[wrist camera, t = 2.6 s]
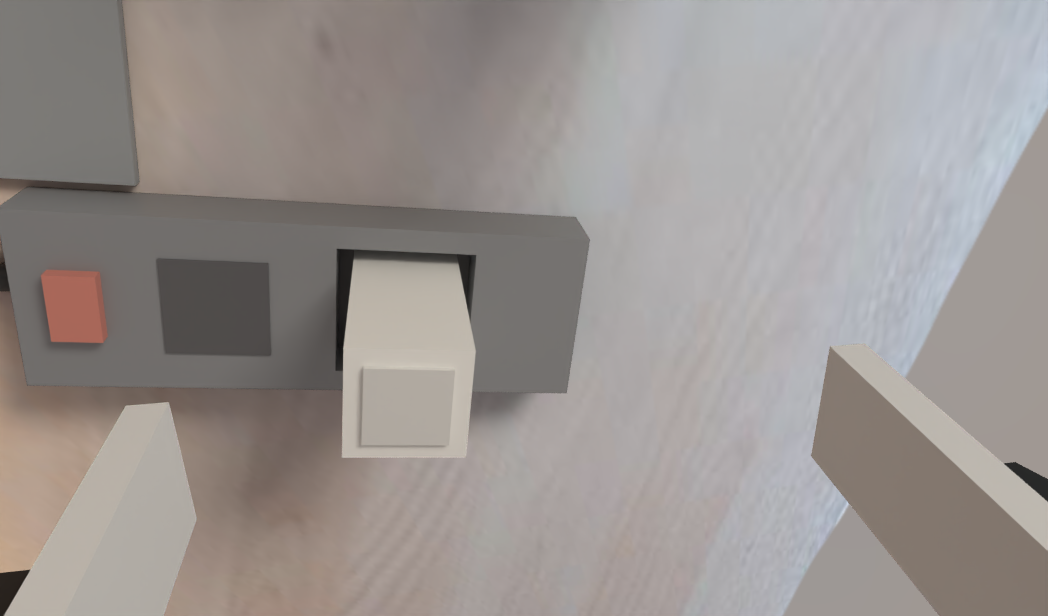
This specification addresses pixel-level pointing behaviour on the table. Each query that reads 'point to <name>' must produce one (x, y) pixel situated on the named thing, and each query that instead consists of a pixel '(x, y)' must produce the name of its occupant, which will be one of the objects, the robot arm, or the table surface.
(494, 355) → the power strip
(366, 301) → the block
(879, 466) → the robot arm
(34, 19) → the mat
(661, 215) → the table surface
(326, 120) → the table surface
